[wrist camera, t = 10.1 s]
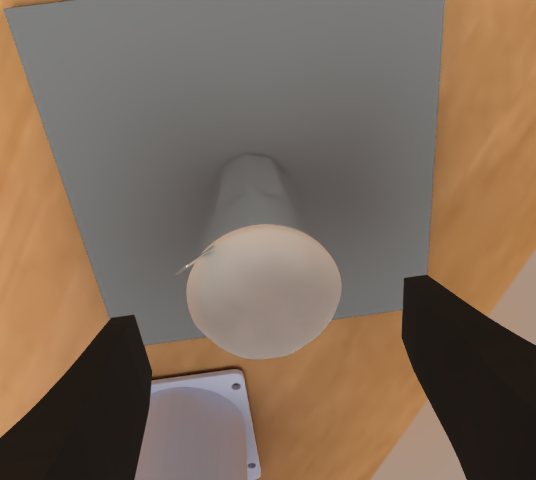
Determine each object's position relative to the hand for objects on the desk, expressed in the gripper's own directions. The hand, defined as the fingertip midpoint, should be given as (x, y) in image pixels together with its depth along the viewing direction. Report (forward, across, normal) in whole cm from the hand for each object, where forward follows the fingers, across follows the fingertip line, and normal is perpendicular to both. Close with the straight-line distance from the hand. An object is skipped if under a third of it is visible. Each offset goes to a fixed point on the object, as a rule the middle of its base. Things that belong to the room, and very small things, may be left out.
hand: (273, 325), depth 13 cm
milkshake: (+10, 0, 0) cm, 10 cm away
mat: (+10, 0, 0) cm, 10 cm away
